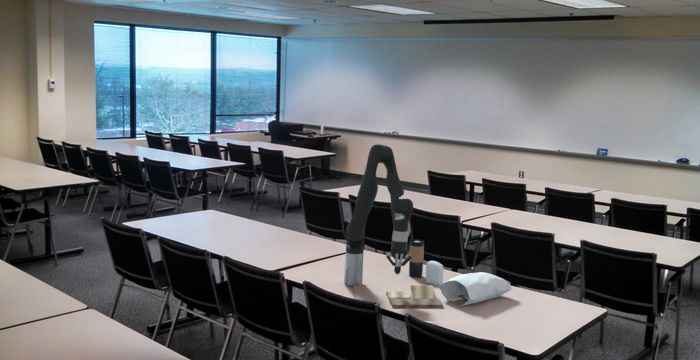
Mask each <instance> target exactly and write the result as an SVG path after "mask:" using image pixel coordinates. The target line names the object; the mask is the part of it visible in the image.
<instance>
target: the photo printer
mask: <svg viewBox="0 0 700 360" xmlns="http://www.w3.org/2000/svg"><path fill="white" fill-rule="evenodd" d="M425 283H427V284H428V285H433V286H440V285H441V284H443V283H444V265H443V264H441V263H440V262H438V261H435V260H428V261H426V265H425Z"/></svg>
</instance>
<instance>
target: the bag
mask: <svg viewBox="0 0 700 360" xmlns="http://www.w3.org/2000/svg"><path fill="white" fill-rule="evenodd" d="M438 288H439V290H440V292H441V294H442V296H443V297H444V298H445V299H446V301H447V302H448V303H449V302H456V301H461V300H463V299H466V302H465V303H463V304H461V305H460V304H459V307H461V306H463V307H464V306H467V305H472V304H478V303H482V302H484V301H485V302H486V301H488V300H491V299H495V298H498V297H500V296H502V295H504V294H506V293H508V292H510V291H511V290H512V286H511V284H510V283H509V282H508V281H507V280H506V279H504V278H502V277H499V276H497V275H495V274H492V273H488V272H486V271H485V272H483V271H482V272H481V271H480V272H479V271H478V272H471V273H463V274H459V275H457V276H454V277H451V278H449V279H448V280H447V281H445V282H444V281H443V284H441V285H438Z"/></svg>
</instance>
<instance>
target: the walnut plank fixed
mask: <svg viewBox="0 0 700 360" xmlns="http://www.w3.org/2000/svg"><path fill="white" fill-rule="evenodd" d="M388 302H389V304H390V306H391V308H392V309H398V308H399V309H401V308H402V309H405V308H406V309H411V308H412V309H416V308H417V309H422V308H423V309H424V308H425V309H429V308H430V309H434V308H435V309H441V308H442V309H443V307H444V304H443V303H442V301H441V300H440V299H439V298H438V297H436V298H413V297H412V298H393V299H389V300H388Z"/></svg>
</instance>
